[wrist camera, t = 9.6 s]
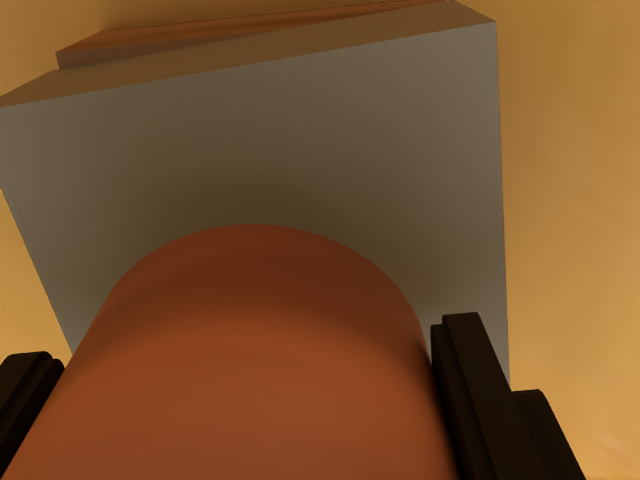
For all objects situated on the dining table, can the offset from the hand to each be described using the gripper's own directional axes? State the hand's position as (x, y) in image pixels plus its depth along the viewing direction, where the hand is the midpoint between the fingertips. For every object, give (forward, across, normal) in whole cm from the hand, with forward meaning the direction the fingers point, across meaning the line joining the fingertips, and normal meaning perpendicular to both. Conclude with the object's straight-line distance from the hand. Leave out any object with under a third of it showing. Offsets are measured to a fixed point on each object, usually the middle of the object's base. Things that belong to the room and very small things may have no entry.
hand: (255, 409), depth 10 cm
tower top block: (+8, 0, 0) cm, 8 cm away
